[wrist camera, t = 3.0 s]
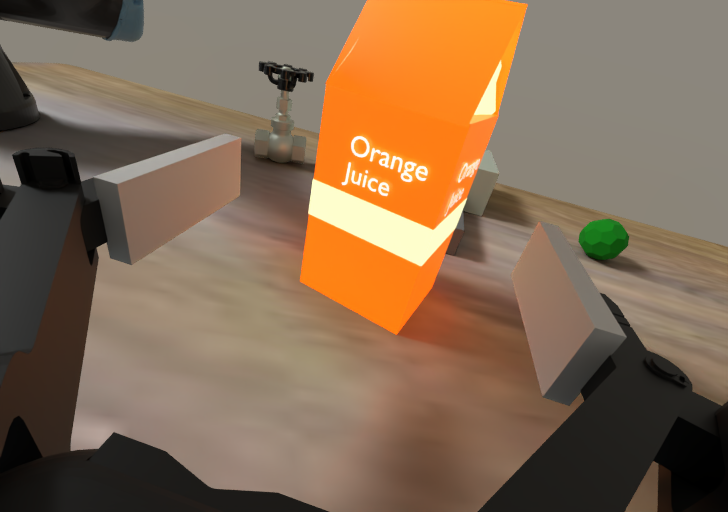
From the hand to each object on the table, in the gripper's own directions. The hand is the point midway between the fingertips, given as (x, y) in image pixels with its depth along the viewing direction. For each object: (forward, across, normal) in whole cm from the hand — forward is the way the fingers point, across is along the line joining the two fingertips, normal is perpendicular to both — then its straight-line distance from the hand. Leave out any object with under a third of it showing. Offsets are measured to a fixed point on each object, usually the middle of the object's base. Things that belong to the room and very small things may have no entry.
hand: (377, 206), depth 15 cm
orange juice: (+10, 0, -11) cm, 15 cm away
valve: (+31, -18, -11) cm, 38 cm away
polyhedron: (+30, +25, -11) cm, 40 cm away
